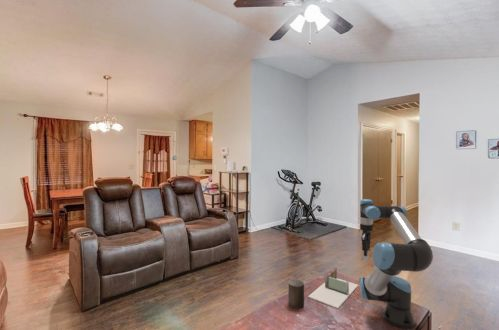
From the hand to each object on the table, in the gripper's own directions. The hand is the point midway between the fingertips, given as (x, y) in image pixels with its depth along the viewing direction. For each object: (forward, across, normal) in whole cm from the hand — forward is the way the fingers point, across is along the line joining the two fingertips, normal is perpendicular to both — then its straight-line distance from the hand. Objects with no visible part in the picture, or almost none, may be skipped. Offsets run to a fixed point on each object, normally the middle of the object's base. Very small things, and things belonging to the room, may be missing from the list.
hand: (365, 260), depth 163 cm
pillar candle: (+27, +32, -32) cm, 52 cm away
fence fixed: (+26, -7, -26) cm, 37 cm away
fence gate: (+25, 0, -18) cm, 31 cm away
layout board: (+26, +1, -20) cm, 33 cm away
